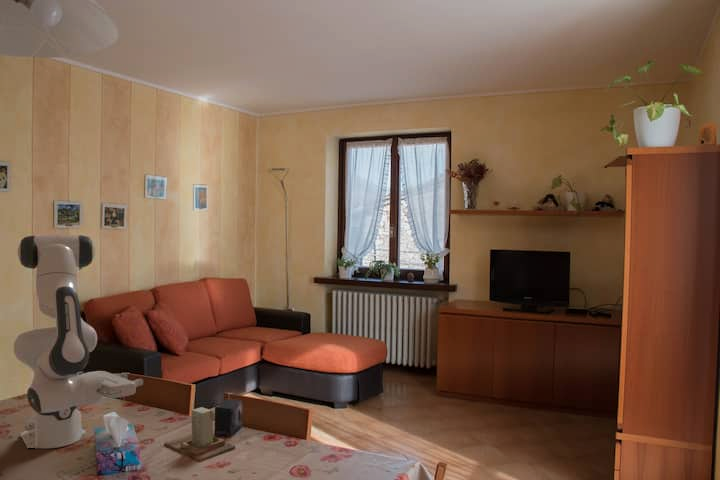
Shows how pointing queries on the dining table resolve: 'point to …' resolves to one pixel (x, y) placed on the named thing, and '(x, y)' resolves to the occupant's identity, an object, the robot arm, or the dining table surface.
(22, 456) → the dining table surface
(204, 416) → the skincare box
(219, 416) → the small box
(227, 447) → the wooden board with frame
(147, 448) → the dining table surface
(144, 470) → the dining table surface
